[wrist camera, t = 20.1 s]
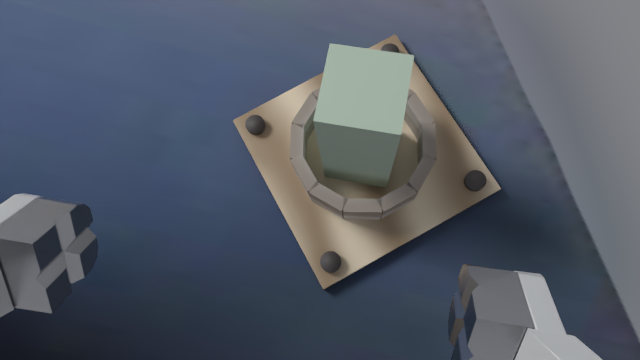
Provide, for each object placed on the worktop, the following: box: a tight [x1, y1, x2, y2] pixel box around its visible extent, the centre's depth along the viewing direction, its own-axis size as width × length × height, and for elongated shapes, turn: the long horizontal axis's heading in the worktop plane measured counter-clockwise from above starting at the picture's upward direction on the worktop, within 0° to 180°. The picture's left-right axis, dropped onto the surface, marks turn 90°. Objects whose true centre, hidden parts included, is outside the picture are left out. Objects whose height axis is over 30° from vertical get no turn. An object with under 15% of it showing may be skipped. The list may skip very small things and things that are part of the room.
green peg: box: [313, 43, 414, 188], centre depth 33 cm, size 5×5×12 cm
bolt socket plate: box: [233, 35, 501, 290], centre depth 38 cm, size 16×16×4 cm
